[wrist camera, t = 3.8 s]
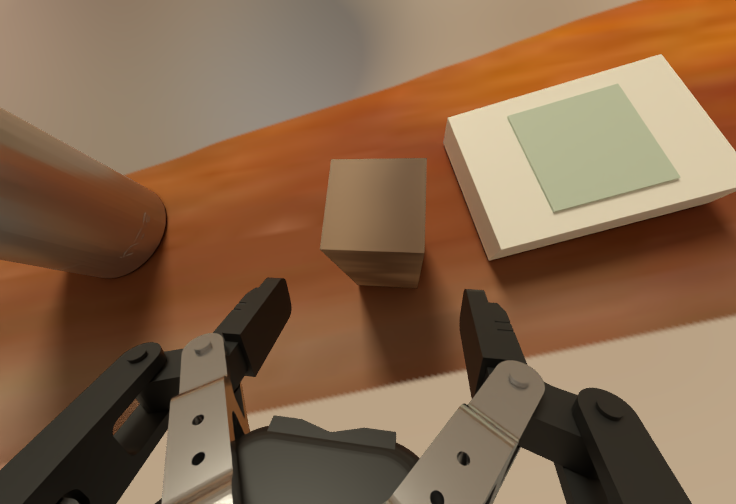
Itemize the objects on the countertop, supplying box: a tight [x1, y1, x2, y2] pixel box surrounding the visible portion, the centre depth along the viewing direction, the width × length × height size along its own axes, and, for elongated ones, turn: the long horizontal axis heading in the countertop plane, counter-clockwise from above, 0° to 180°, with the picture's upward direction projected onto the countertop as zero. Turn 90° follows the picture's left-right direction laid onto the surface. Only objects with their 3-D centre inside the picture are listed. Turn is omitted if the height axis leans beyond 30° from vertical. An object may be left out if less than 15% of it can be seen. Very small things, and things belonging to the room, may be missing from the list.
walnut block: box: [320, 158, 427, 288], centre depth 18 cm, size 5×5×10 cm
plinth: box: [443, 54, 736, 261], centre depth 21 cm, size 16×11×3 cm
